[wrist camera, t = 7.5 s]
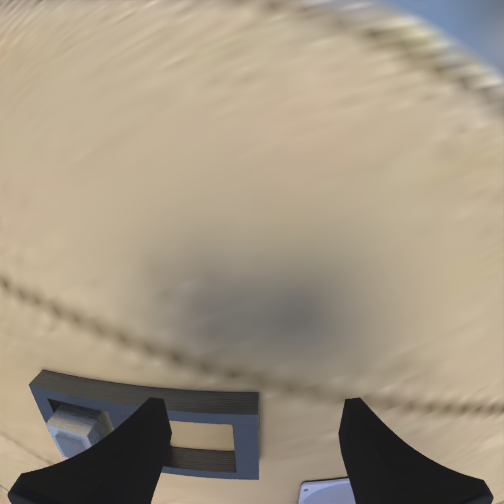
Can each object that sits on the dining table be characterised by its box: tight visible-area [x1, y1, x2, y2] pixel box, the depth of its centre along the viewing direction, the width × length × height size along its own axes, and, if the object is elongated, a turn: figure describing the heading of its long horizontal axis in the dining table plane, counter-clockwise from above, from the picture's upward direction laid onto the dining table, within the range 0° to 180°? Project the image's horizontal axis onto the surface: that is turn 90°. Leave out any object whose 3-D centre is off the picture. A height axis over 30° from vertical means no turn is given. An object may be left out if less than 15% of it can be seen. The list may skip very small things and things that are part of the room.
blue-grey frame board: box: [29, 370, 259, 480], centre depth 22 cm, size 8×19×2 cm, turn 91°
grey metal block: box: [46, 402, 114, 459], centre depth 21 cm, size 4×4×5 cm
